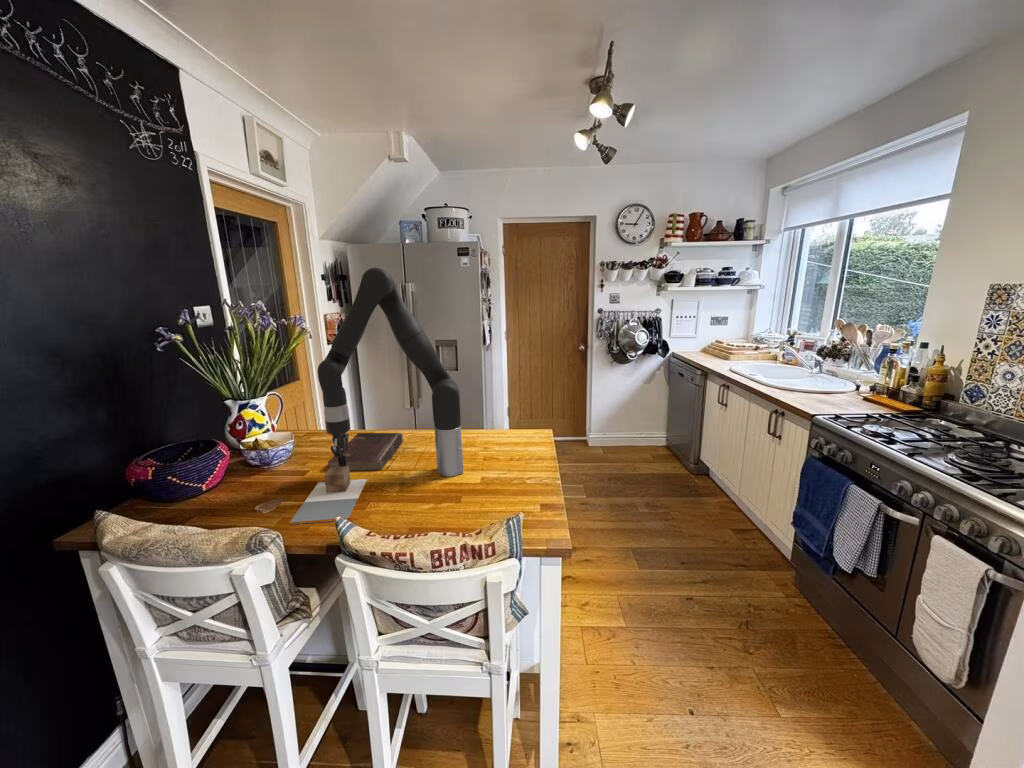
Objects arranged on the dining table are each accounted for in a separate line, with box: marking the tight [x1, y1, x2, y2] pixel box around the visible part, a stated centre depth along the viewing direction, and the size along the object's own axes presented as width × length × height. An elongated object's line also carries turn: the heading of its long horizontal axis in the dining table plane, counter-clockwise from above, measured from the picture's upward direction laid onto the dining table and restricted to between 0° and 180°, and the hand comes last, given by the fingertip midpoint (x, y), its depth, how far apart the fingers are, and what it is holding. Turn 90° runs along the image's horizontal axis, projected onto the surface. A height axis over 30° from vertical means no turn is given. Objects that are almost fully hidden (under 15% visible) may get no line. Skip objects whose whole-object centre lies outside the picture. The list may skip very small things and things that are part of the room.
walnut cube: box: [323, 466, 351, 493], centre depth 133 cm, size 6×6×6 cm
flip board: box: [289, 478, 368, 526], centre depth 127 cm, size 16×24×1 cm, turn 7°
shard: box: [254, 498, 285, 515], centre depth 125 cm, size 11×8×2 cm
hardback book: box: [327, 432, 404, 472], centre depth 160 cm, size 29×19×5 cm, turn 0°
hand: (342, 465), depth 139 cm, fingers closed
